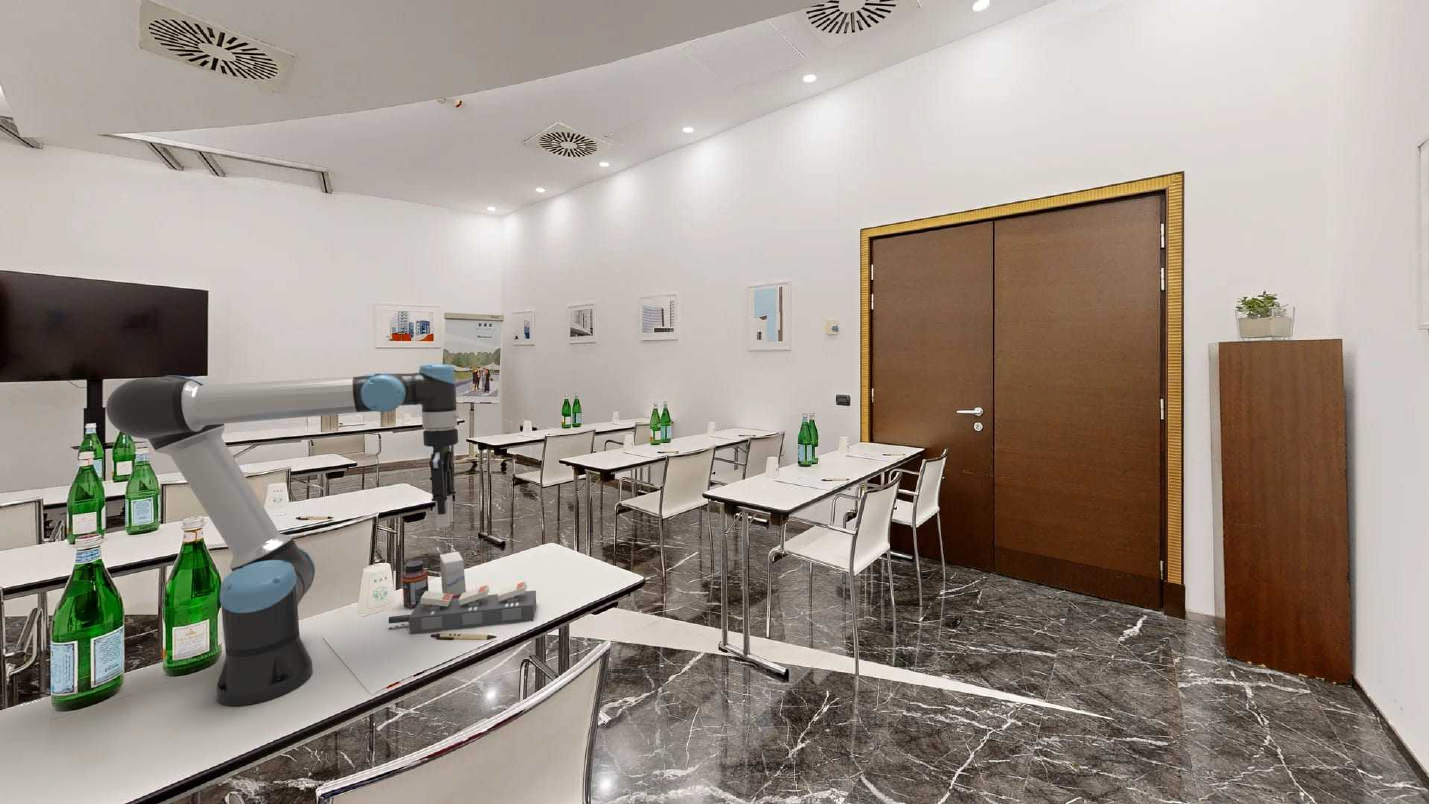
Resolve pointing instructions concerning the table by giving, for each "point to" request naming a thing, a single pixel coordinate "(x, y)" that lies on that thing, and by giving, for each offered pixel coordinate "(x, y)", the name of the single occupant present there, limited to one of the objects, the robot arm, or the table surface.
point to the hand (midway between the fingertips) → (445, 524)
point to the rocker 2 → (474, 595)
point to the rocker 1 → (436, 598)
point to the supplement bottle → (414, 583)
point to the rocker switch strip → (470, 613)
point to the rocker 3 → (512, 591)
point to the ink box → (452, 574)
